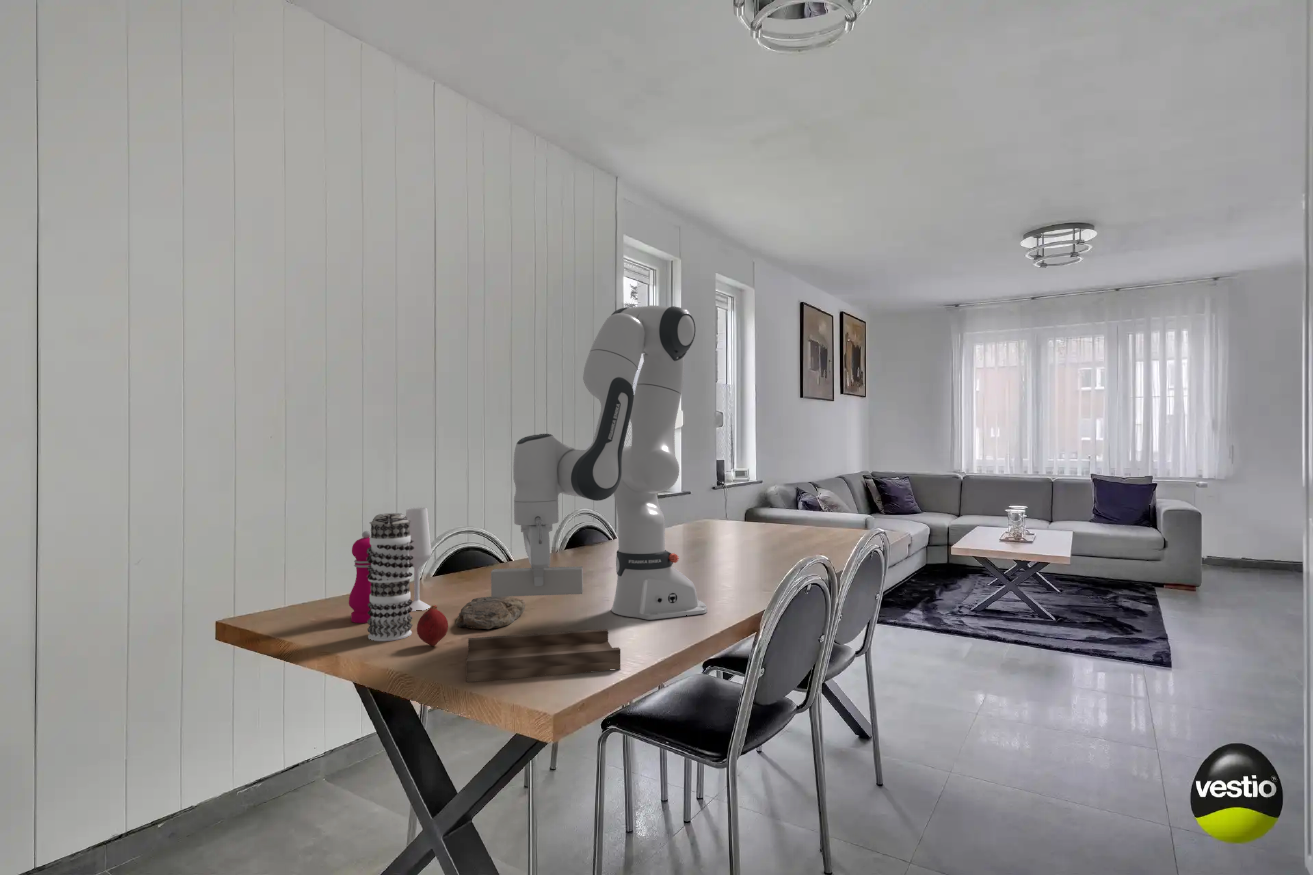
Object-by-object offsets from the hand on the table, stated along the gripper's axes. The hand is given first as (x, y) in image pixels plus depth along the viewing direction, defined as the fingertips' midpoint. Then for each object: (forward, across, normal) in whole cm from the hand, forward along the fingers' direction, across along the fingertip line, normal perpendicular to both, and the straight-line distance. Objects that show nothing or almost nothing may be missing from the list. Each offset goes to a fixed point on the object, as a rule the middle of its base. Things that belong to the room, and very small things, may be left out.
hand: (537, 582), depth 140 cm
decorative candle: (+11, +10, +30) cm, 33 cm away
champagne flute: (+11, +34, +27) cm, 45 cm away
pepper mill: (+11, +26, +37) cm, 46 cm away
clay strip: (+2, 0, 0) cm, 2 cm away
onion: (+11, 0, +20) cm, 23 cm away
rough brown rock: (+12, +18, +10) cm, 24 cm away
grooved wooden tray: (+11, -15, 0) cm, 19 cm away
